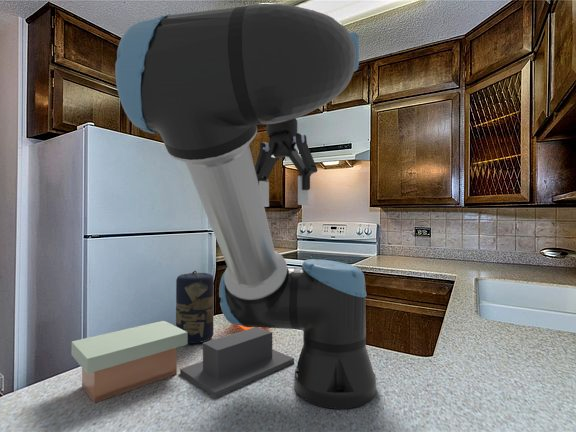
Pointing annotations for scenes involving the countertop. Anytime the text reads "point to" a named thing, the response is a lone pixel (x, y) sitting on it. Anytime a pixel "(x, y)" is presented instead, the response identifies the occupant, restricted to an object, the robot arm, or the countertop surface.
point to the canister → (195, 305)
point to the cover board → (126, 345)
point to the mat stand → (235, 361)
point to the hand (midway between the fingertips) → (282, 205)
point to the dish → (129, 375)
